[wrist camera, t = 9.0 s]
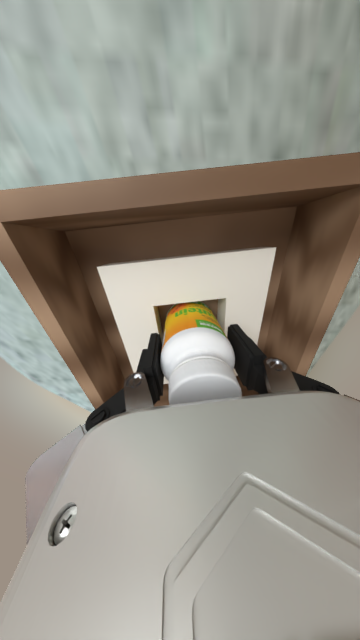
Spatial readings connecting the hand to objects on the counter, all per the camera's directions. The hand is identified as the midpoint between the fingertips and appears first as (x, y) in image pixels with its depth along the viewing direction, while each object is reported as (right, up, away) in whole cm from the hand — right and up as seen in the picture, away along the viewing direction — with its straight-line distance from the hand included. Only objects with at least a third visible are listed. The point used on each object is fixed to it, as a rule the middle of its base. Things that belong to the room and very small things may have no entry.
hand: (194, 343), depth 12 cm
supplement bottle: (0, +2, +4) cm, 5 cm away
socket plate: (0, +2, +5) cm, 5 cm away
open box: (0, +2, +5) cm, 5 cm away
